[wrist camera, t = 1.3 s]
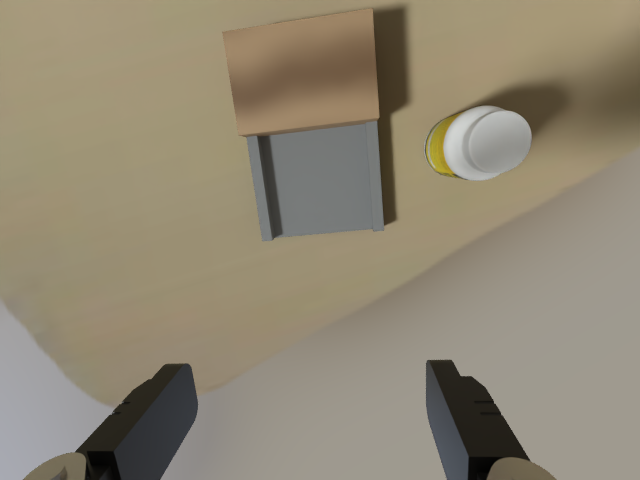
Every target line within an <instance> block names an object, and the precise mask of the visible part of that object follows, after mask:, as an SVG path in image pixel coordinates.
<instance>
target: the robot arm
mask: <svg viewBox="0 0 640 480" xmlns="http://www.w3.org/2000/svg"><path fill="white" fill-rule="evenodd" d="M426 407H427V414H428V419H429V423H430V427H431V430H432V433H433V436H434V439H435V443H436V446H437V449H438V452H439V455H440V458H441V462H442V465H443V468H444V471H445V474H446V477H447V480H556V479H555V478H554V477H553V476H552V475H551V474H550V473H549V472H547V471H546V470H545V469H543V468H542V467H540V466H538V465H536V464H535V463H532V462H531V461H530V459H529V458H528V456H527V455H526V453H525V451H524V450H523V448H522V446H521V445H520V443H519V442H518V440H517V438H516V437H515V435H514V433H513V432H512V430H511V428H510V427H509V425H508V424H507V422H506V420H505V419H504V417H503V416H501V412H500V411H499V409H498V407H497V406H496V404H494V401H493V399H492V398H491V396H490V394H489V393H488V391H487V389H486V388H485V387H484V386H483V385H482V384H480V383H479V382H478V381H476V380H475V379H474V378H473V377H471V376H467V377H465V376H460V374H459V372H458V371H457V369H456V367H455V365H454V363H453V362H452V360H427V363H426ZM197 410H198V401H197V395H196V390H195V384H194V379H193V373H192V369H191V366H190V365H189V364H165V365H164V366H163V367H162V368H161V369H160V370H159V371H158V372H157V373H156V374H155V376H154V377H153V378H152V379H149V380H147V381H146V382H144V383H143V384H141V385H140V386H138V387H137V388H135V389H134V390H133V391H132V392H131V393H130V394H129V395H128V396H127V397H126V398H125V399H124V400H123V401H122V404H119V406H118V407H117V408H116V409H115V410H114V411H113V412H112V415H109V416H108V417H107V418H106V419H105V421H104V422H103V423H102V424H101V425H100V426H99V427H98V428H97V429H96V430H95V431H94V432H93V433H92V434H91V435H90V437H89V438H88V439H87V440H86V441H85V442H84V443H83V444H82V445H81V446H80V447H79V448H78V449H77V450H76V451H75V452H74V453H66V454H63V455H60V456H57V457H55V458H52V459H50V460H48V461H46V462H45V463H43V464H41V465H40V466H38V467H37V468H36V469H34V470H33V471H32V472H30V473H29V474H28V475H27V476H26V477H25V478H24V479H23V480H160V479H161V477H162V475H163V474H164V472H165V470H166V469H167V467H168V465H169V464H170V462H171V460H172V458H173V457H174V455H175V453H176V452H177V450H178V448H179V447H180V445H181V443H182V442H183V440H184V438H185V436H186V435H187V433H188V431H189V430H190V428H191V426H192V424H193V423H194V421H195V418H196V415H197Z"/></svg>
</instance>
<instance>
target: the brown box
mask: <svg viewBox="0 0 640 480" xmlns="http://www.w3.org/2000/svg"><path fill="white" fill-rule="evenodd" d="M223 39H224V45H225V51H226V58H227V64H228V70H229V77H230V83H231V89H232V95H233V102H234V108H235V114H236V121H237V127H238V133H239V135H240V136H244V137H251V136H259V137H262V136H270V135H278V134H287V133H295V132H303V131H311V130H319V129H327V128H335V127H344V126H352V125H360V124H365V123H366V122H373V121H377V120H378V119H379V102H378V86H377V71H376V55H375V39H374V23H373V8H370V9H363V10H357V11H351V12H345V13H338V14H332V15H326V16H319V17H313V18H307V19H300V20H294V21H288V22H281V23H275V24H269V25H262V26H256V27H250V28H243V29H237V30H231V31H225V32H223Z"/></svg>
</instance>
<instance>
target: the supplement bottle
mask: <svg viewBox="0 0 640 480" xmlns="http://www.w3.org/2000/svg"><path fill="white" fill-rule="evenodd" d="M531 141H532V135H531V129H530V126H529V124H528V123H527V121H526V120H525V119H524V118H523V117H522V116H521V115H519V114H517V113H515V112H512V111H507V110H504V109H502V108H499V107H496V106H479V107H475V108H472V109H469V110H467V111H464V112H461V113H459V114H456V115H453V116H451V117H448V118H446V119H443V120H441V121H440V122H438V123H437V124H436V125H435V126H434V127H433V128H432V129H431V130H430V132H429V133H428V135H427V137H426V140H425V144H424V154H425V158H426V161H427V163H428V164H429V166H430V167H431V168H432V169H433V170H434V171H435V172H437V173H439V174H441V175H444V176H448V177H454V178H460V179H466V180H473V181H482V180H488V179H491V178H494V177H496V176H498V175H500V174H501V173H503V172H507V171H509V170H511V169H513V168H515V167H516V166H518V165H519V164H520V163H521V162H522V161H523V160H524V158H525V157H526V156H527V154H528V152H529V150H530V146H531Z"/></svg>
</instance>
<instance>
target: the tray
mask: <svg viewBox="0 0 640 480" xmlns="http://www.w3.org/2000/svg"><path fill="white" fill-rule="evenodd" d="M246 138H247V144H248V151H249V157H250V164H251V170H252V177H253V183H254V190H255V196H256V203H257V209H258V216H259V222H260V229H261V235H262V241H272V240H273V239H274V238H277V237H289V236H300V235H311V234H322V233H333V232H344V231H355V230H366V229H373V231H384V221H383V205H382V190H381V174H380V159H379V144H378V128H377V121H373V122H366V123H365V124H360V125H352V126H344V127H335V128H327V129H319V130H311V131H303V132H295V133H287V134H278V135H270V136H262V137H259V136H251V137H246Z"/></svg>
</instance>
